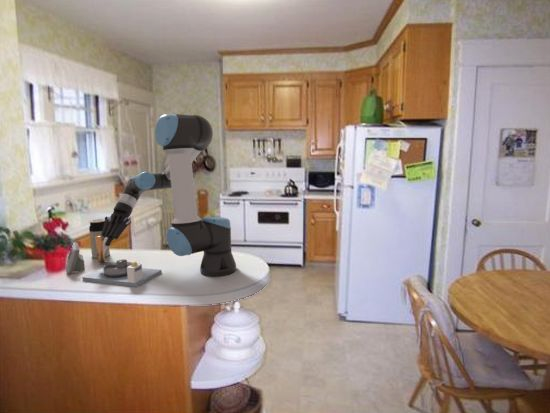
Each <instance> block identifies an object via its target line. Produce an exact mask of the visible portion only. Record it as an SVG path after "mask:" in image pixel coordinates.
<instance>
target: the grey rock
mask: <svg viewBox="0 0 550 413" xmlns="http://www.w3.org/2000/svg"><path fill="white" fill-rule="evenodd" d="M72 243H73V242H72ZM71 245H72V244H71ZM70 249H71V252H70V251H69V252H70V253H69V252H68V255H67V260H66V262H67V264H66V263H65V266H66V273H67V274H69V275H72V274H73V273H74V272H80V271H81V272H82V271H85V269H86V268H85V267H86V266H85V260H84V256H83V255H82V254H80V245H79V243H78V242H76V241H74V243H73V245H72V248H71V247H70Z"/></svg>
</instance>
